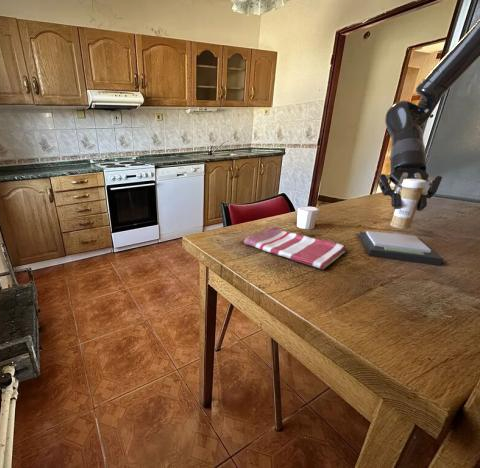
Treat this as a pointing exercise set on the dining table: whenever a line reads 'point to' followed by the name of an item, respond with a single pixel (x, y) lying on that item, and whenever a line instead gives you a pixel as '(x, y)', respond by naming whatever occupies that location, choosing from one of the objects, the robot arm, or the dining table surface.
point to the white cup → (307, 217)
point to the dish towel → (297, 247)
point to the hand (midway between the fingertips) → (408, 208)
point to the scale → (399, 247)
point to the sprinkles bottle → (408, 203)
